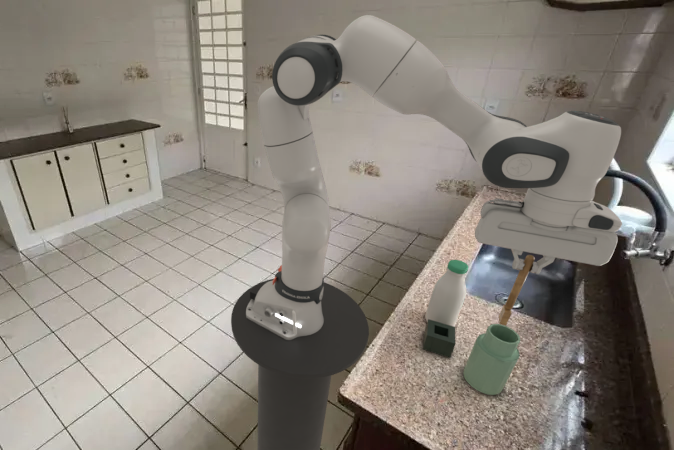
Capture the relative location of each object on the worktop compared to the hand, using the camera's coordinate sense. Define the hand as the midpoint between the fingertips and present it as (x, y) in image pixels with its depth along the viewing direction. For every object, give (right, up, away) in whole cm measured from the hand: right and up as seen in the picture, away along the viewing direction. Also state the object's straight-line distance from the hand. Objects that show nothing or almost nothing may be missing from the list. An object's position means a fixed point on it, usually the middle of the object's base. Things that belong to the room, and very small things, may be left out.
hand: (525, 270), depth 69 cm
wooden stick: (0, -12, +6) cm, 14 cm away
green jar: (+1, -28, +14) cm, 31 cm away
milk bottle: (0, -19, +31) cm, 36 cm away
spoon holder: (-5, -23, +23) cm, 33 cm away
